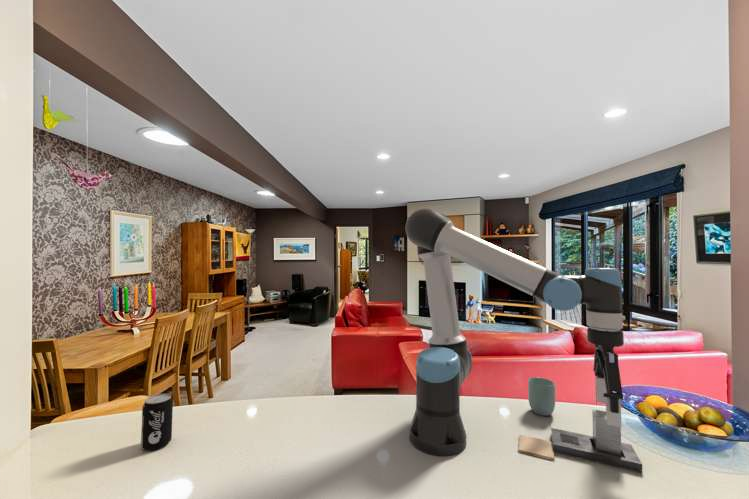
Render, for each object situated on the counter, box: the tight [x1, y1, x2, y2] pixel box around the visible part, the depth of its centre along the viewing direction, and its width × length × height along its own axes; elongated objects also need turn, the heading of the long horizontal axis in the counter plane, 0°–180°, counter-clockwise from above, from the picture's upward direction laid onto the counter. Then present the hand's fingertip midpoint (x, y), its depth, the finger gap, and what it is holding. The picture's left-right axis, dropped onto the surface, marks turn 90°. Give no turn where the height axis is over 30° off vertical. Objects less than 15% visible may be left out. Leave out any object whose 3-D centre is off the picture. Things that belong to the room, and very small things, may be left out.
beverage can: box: [140, 393, 174, 452], centre depth 83 cm, size 7×7×12 cm
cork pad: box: [518, 434, 555, 462], centre depth 83 cm, size 8×8×1 cm
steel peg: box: [591, 409, 622, 457], centre depth 81 cm, size 5×5×10 cm
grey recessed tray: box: [550, 427, 643, 474], centre depth 82 cm, size 18×9×2 cm, turn 64°
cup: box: [527, 376, 556, 416], centre depth 103 cm, size 8×8×10 cm
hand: (607, 413), depth 81 cm, fingers open, 13 cm apart
